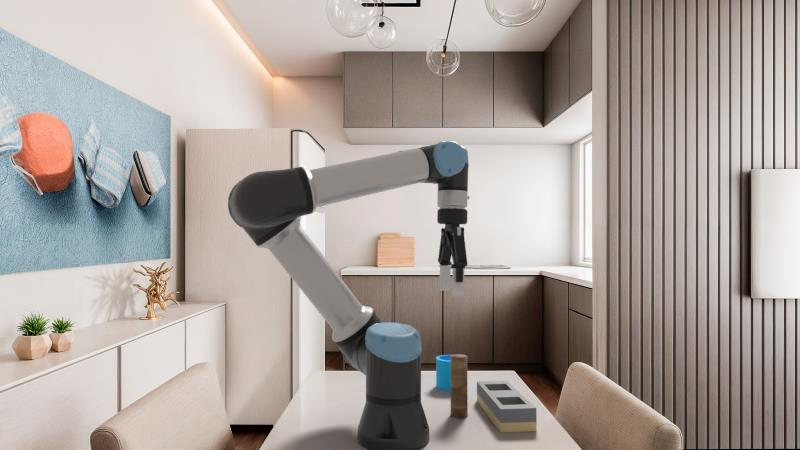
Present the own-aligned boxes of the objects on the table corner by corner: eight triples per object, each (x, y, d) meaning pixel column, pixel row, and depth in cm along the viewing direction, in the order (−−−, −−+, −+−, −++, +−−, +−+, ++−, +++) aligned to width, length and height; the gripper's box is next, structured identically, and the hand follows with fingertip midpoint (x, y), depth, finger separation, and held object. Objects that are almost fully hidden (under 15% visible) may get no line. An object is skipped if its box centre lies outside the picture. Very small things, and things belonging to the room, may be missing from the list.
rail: (536, 431, 116) (536, 408, 116) (500, 432, 115) (500, 409, 115) (507, 400, 138) (507, 380, 138) (476, 400, 137) (476, 381, 137)
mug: (467, 390, 146) (467, 361, 146) (438, 391, 146) (438, 361, 146) (460, 379, 158) (460, 351, 158) (433, 379, 158) (432, 352, 158)
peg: (458, 419, 123) (458, 358, 124) (447, 414, 127) (447, 355, 127) (471, 415, 126) (470, 356, 126) (459, 411, 129) (459, 353, 129)
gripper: (481, 205, 122) (480, 298, 121) (454, 211, 146) (453, 288, 146) (449, 204, 120) (448, 298, 120) (428, 210, 145) (426, 288, 145)
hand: (451, 293), depth 133 cm, fingers open, 13 cm apart
